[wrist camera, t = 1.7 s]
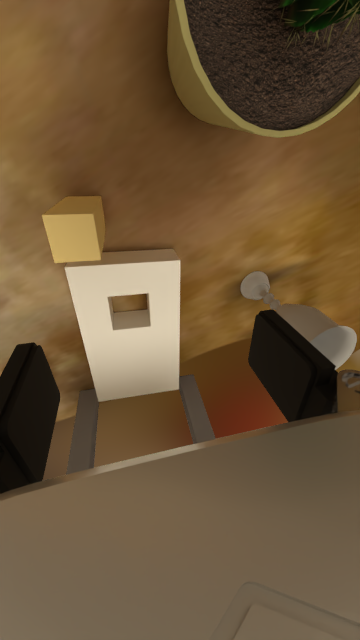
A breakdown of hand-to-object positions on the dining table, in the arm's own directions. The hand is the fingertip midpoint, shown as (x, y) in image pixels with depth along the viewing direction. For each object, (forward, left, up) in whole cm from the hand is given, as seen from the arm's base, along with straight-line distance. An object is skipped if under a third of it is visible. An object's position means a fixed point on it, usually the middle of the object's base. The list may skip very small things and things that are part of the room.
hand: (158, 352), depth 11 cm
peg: (-1, -5, -27) cm, 27 cm away
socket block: (+16, -1, -27) cm, 31 cm away
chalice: (+11, +20, -27) cm, 35 cm away
